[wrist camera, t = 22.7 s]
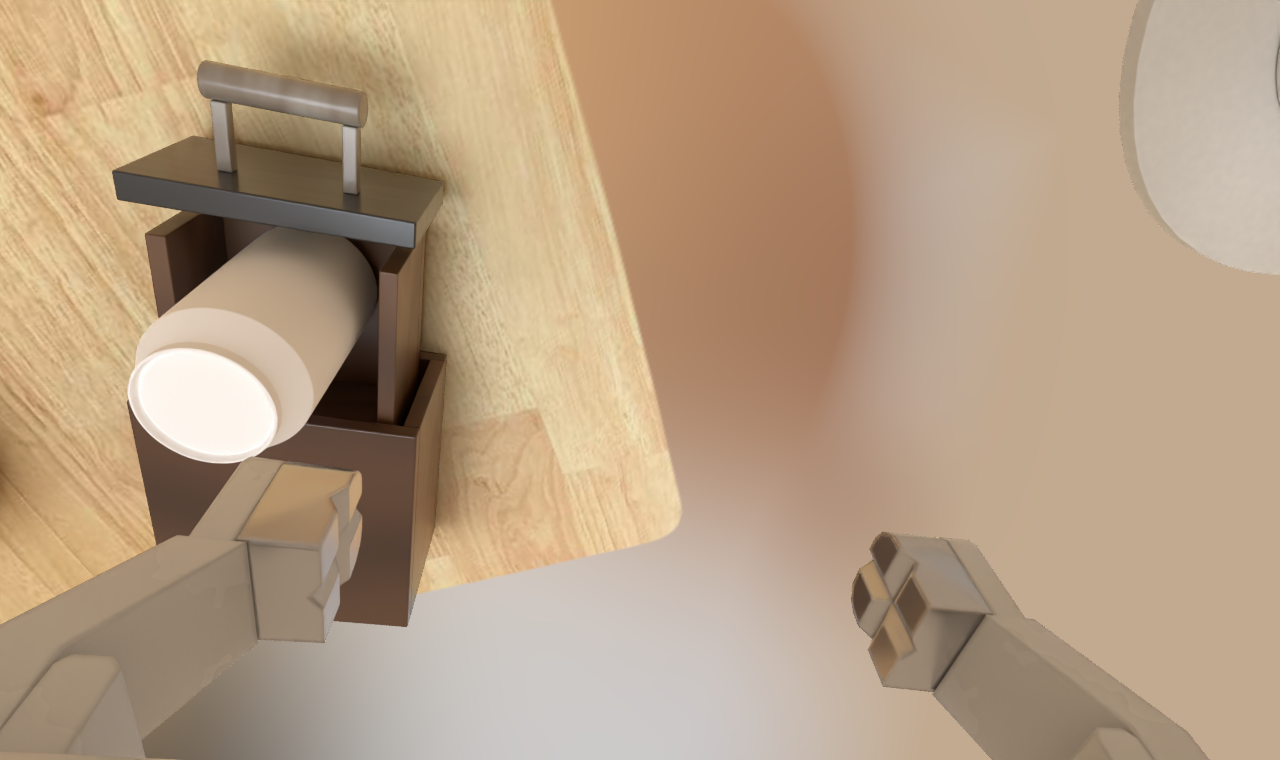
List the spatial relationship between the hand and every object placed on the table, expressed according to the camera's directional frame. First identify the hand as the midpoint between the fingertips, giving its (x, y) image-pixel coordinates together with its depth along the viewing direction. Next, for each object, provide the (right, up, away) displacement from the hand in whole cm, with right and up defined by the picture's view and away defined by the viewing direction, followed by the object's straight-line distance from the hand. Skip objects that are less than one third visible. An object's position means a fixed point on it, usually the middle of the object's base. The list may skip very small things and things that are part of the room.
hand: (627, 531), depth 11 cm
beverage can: (-16, +8, +24) cm, 30 cm away
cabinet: (-18, -1, +31) cm, 36 cm away
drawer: (-16, +9, +24) cm, 30 cm away
